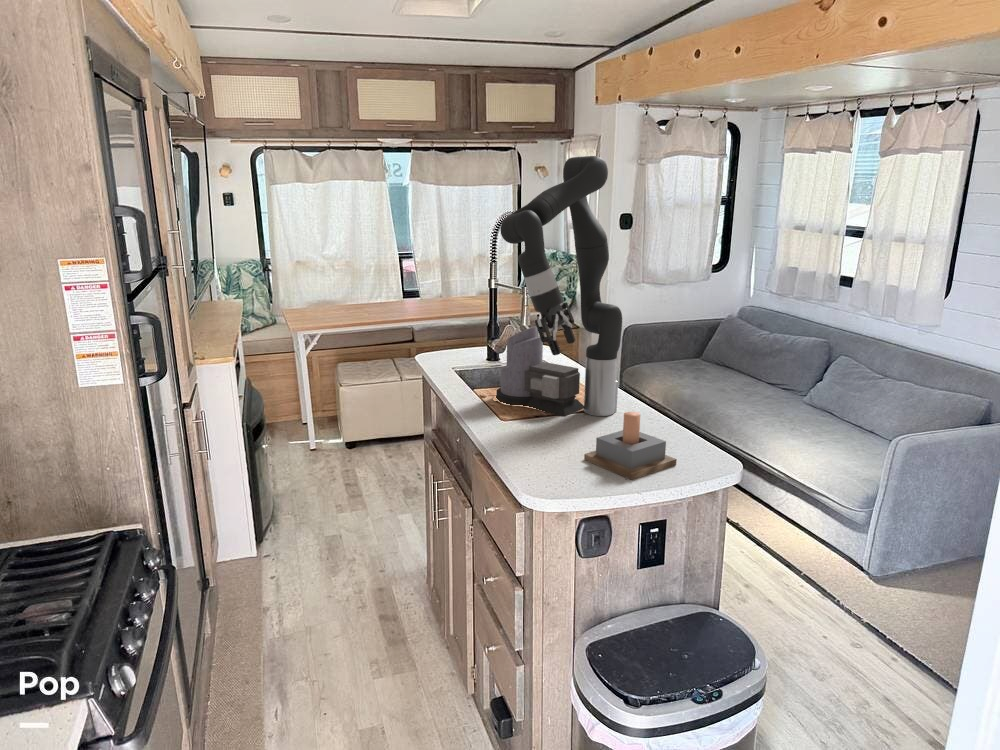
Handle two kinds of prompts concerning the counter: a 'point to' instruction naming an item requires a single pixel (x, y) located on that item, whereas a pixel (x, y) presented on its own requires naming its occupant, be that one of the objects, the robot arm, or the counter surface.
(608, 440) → the socket
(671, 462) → the socket board
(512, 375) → the juicer
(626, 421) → the peg
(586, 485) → the counter surface
